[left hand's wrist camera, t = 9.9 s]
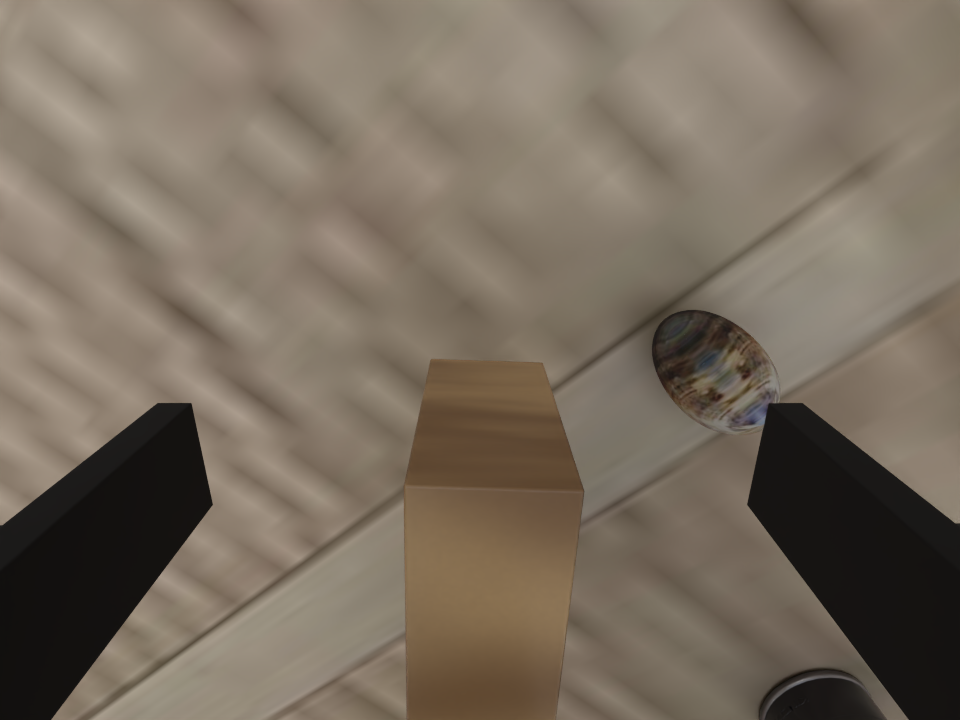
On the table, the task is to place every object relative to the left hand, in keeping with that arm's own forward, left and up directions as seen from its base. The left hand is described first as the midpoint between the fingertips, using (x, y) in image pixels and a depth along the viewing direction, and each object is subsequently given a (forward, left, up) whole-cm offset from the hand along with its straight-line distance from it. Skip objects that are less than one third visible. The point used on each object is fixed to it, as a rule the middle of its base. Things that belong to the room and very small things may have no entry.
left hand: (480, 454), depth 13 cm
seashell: (-15, -2, -23) cm, 27 cm away
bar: (-7, +12, -10) cm, 17 cm away
